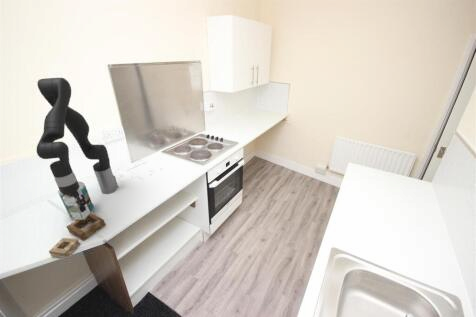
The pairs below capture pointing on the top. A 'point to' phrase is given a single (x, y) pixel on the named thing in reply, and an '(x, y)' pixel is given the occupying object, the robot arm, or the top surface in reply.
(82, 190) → the food can
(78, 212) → the syrup box
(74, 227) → the brown wooden square frame
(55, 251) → the tan wooden square frame
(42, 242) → the top surface
